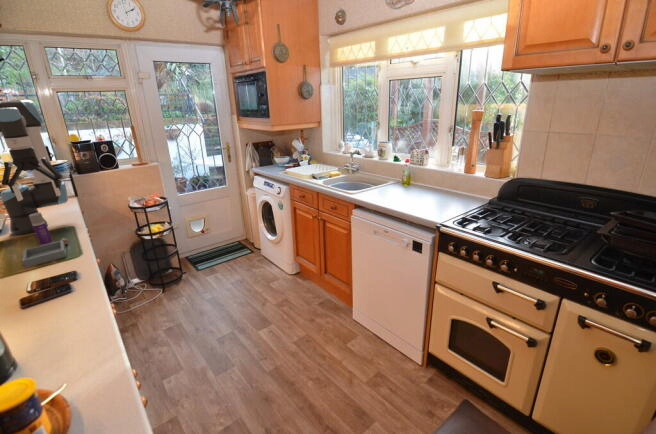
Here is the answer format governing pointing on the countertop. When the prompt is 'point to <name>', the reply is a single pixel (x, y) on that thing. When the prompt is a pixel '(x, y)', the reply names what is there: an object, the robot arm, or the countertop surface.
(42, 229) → the container
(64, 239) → the ball
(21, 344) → the countertop surface
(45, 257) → the tray
